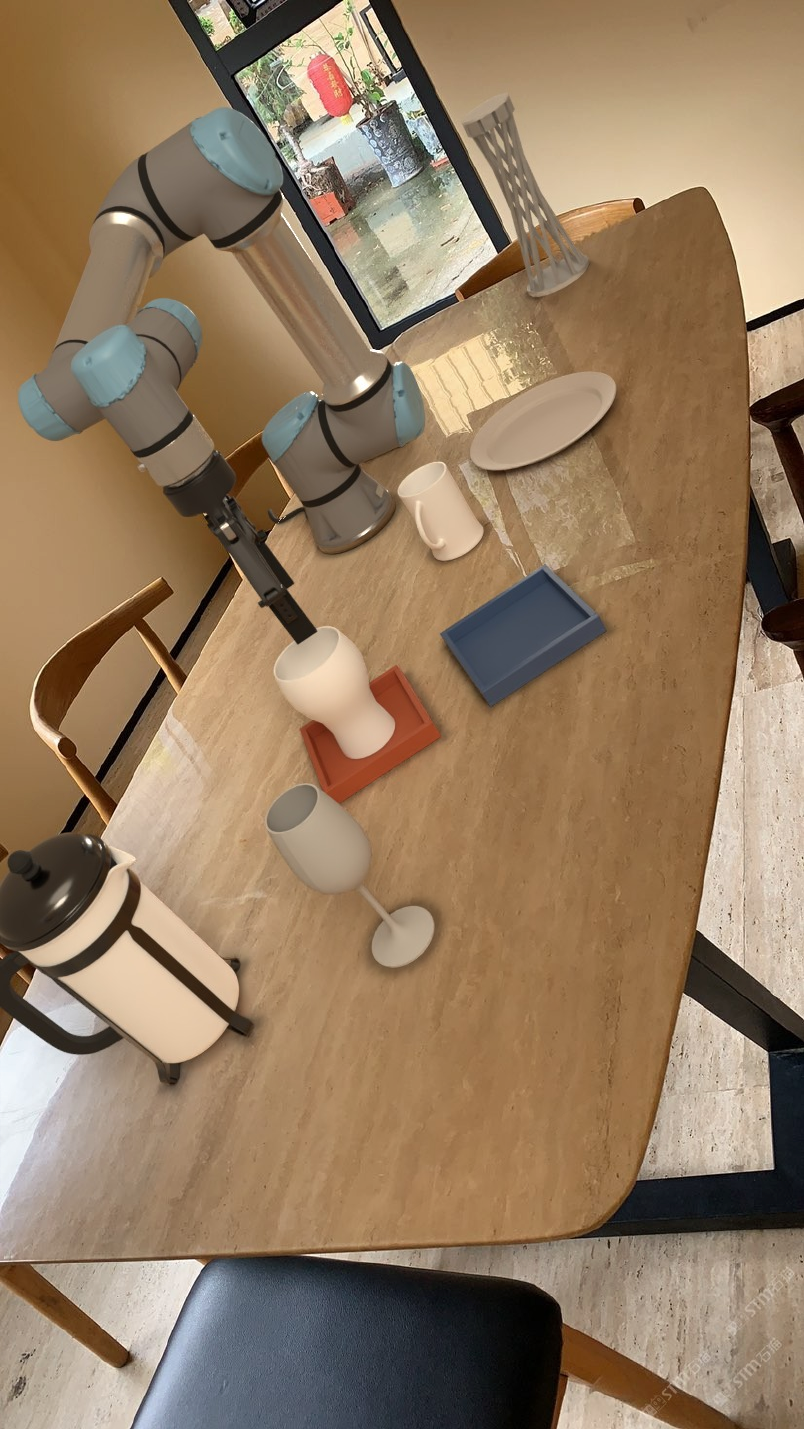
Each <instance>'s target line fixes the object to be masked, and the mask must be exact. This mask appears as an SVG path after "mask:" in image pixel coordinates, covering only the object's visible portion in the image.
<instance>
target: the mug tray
mask: <svg viewBox="0 0 804 1429" xmlns="http://www.w3.org/2000/svg"><path fill="white" fill-rule="evenodd" d="M606 632H607V628H606V627H605V624H604V622H603V620H602V619H601V617H600V615H599V614H598V613H597V612H596V611H595V610H594V609H592V607H591V606H590V605H589V604H587V602H585V601H584V600H583V598H581V596H579V595H578V594H577V592H575V591H574V590H573V589H572V588H571V587H570V586H569V585H568V584H567V583H566V582H565V581H564V580H563V579H562V578H560V576H558V574H556V572H555V571H553V569H551V567H549V566H548V565H547V564H546V563H544V564H542V565H541V566H539V567H537V568H536V569H535V570H533V571H531V572H530V573H529V574H527V575H525V576H524V577H523V578H521V579H520V580H518V581H517V582H515V583H514V584H512V585H510V586H509V587H508V588H506V589H504V590H503V591H502V592H500V593H499V594H497V595H495V596H494V597H493V598H491V599H489V600H488V601H486V602H485V603H483V604H482V605H481V606H479V607H477V608H476V609H474V610H472V611H471V612H470V613H468V614H467V615H466V616H464V617H463V618H461V619H459V620H458V621H456V622H455V623H453V624H452V625H450V626H449V627H447V628H446V629H444V630H443V631H441V632H440V633H439V635H440V637H441V638H442V640H443V642H444V643H445V644H446V646H447V647H448V649H449V650H450V652H451V653H452V655H453V656H454V658H456V660H457V662H458V663H459V664H460V666H461V668H462V669H463V670H464V671H465V673H466V675H467V676H468V677H469V679H470V680H471V682H472V683H473V684H474V686H475V687H476V688H477V690H478V691H479V693H480V695H481V696H482V697H483V698H484V700H485V701H486V703H487V704H488V705H489V707H490V708H491V707H493V706H494V705H497V703H500V702H501V701H502V700H504V699H505V698H507V697H509V696H510V695H512V694H513V693H514V692H516V691H517V690H519V689H520V688H522V687H524V686H525V685H526V684H528V683H530V682H531V681H533V680H534V679H536V678H537V677H538V676H540V675H542V674H543V673H545V672H546V671H548V670H549V669H551V668H553V667H554V666H555V665H557V664H558V663H560V662H562V661H563V660H565V659H567V657H569V656H571V655H573V654H574V653H576V652H577V651H579V650H580V649H582V648H583V647H584V646H586V645H588V644H589V643H590V642H592V641H594V640H595V639H596V638H598V637H600V636H601V635H603V634H604V633H606Z"/></svg>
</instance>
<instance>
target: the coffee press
mask: <svg viewBox="0 0 804 1429" xmlns="http://www.w3.org/2000/svg"><path fill="white" fill-rule="evenodd" d="M136 863H137V858H136V857H135V856H134V855H132V854H131V853H128V852H126V851H123V850H121V849H119V848H116V847H115V846H111V845H110V844H107V843H106V842H105V841H104V839H102V838H101V837H100V836H98V835H95V834H91V833H81V832H76V831H69V832H63V833H59V834H56V835H53V836H50V837H48V838H46V839H44V840H42V841H41V842H39V843H37V844H36V845H34V846H32V847H31V848H30V849H29V850H28V851H26V850H22V849H20V850H19V849H18V850H15V851H13V852H12V853H10V854H9V856H8V858H7V868H8V872H7V873H6V874H5V876H4V878H3V879H2V880H1V881H0V882H1V883H0V944H2V946H4V947H5V948H6V949H8V950H10V951H12V953H8V954H6V955H5V956H4V957H2V958H1V960H0V1008H1V1009H2V1010H3V1011H4V1012H6V1013H7V1014H8V1015H9V1016H10V1017H11V1018H12V1019H14V1020H15V1021H17V1022H18V1023H19V1024H20V1025H22V1026H23V1027H25V1029H27V1030H28V1031H30V1032H31V1033H32V1034H34V1035H36V1036H37V1037H38V1038H40V1039H41V1040H43V1041H44V1042H45V1043H47V1044H48V1045H50V1046H51V1047H53V1048H55V1049H56V1050H58V1051H60V1052H63V1053H66V1054H70V1055H76V1056H83V1055H84V1056H85V1055H91V1054H95V1053H98V1052H101V1051H104V1050H106V1049H107V1048H109V1047H112V1046H113V1045H115V1044H117V1043H118V1042H120V1041H121V1040H123V1039H125V1040H126V1041H127V1042H129V1043H130V1044H131V1045H132V1046H134V1048H136V1049H138V1051H140V1052H141V1053H143V1054H144V1055H145V1056H147V1057H148V1058H149V1059H150V1060H152V1061H153V1063H154V1065H155V1066H156V1070H157V1075H158V1079H159V1082H160V1083H161V1084H164V1085H168V1086H176V1084H177V1083H178V1082H179V1079H180V1063H182V1062H183V1063H184V1062H186V1061H189V1060H192V1059H194V1058H195V1057H198V1056H200V1055H202V1054H203V1053H204V1052H205V1051H207V1050H208V1049H209V1048H210V1047H211V1046H213V1045H214V1044H215V1043H216V1042H217V1041H218V1039H220V1037H221V1036H222V1035H223V1033H224V1032H225V1031H226V1030H230V1031H232V1032H233V1033H235V1034H238V1035H239V1036H242V1037H245V1038H248V1037H249V1035H250V1033H251V1032H252V1029H253V1027H254V1026H255V1023H254V1022H253V1021H251V1020H249V1019H248V1018H246V1017H244V1016H243V1015H241V1014H239V1013H238V1012H236V1010H237V1006H238V1003H239V996H240V985H239V980H238V977H237V974H236V973H237V972H238V971H239V970H240V967H241V963H240V959H239V958H237V957H231V956H221V955H220V954H218V952H216V950H214V948H212V947H211V946H210V945H208V944H207V943H206V941H204V939H202V938H201V937H200V936H199V935H198V934H197V933H196V932H195V931H193V929H192V928H190V927H189V925H188V924H187V923H185V922H184V921H183V920H182V919H181V918H180V917H179V916H178V915H177V914H175V913H174V911H172V910H171V909H170V908H169V907H168V906H167V905H166V904H165V903H164V902H162V900H161V899H160V898H159V897H157V896H156V895H155V894H154V893H153V892H152V891H151V889H149V888H148V887H146V885H145V884H144V883H143V882H141V881H140V878H139V877H138V875H137V874H136V872H134V870H132V869H131V868H130V867H132V866H133V865H135V864H136ZM226 961H230V965H229V964H228V963H227V962H226ZM27 964H30V965H31V966H32V967H33V968H35V969H36V970H37V971H38V972H40V973H41V974H43V975H44V976H45V977H48V978H49V979H51V980H52V981H53V982H54V983H55V984H56V985H57V986H59V987H60V988H61V989H62V990H64V992H66V993H67V994H68V995H70V996H71V997H72V998H73V999H75V1000H76V1001H78V1002H79V1003H80V1004H81V1005H82V1006H84V1007H85V1008H86V1009H88V1010H89V1011H90V1012H91V1013H93V1014H94V1015H95V1016H97V1017H98V1018H99V1019H100V1020H102V1021H103V1022H104V1023H105V1024H107V1026H108V1027H106V1028H104V1029H102V1030H100V1031H99V1032H96V1033H94V1034H90V1035H77V1034H74V1033H71V1032H69V1031H67V1030H66V1029H64V1028H63V1027H62V1026H61V1025H59V1024H58V1023H57V1022H56V1021H54V1020H52V1019H51V1018H49V1016H47V1015H46V1014H44V1013H43V1012H42V1011H41V1010H39V1009H38V1008H37V1007H35V1006H34V1005H33V1004H32V1003H30V1002H29V1001H28V1000H26V999H25V998H23V997H22V996H21V995H20V994H19V993H18V992H17V991H16V990H15V989H14V988H13V986H12V983H11V980H12V979H13V977H14V976H15V975H16V974H17V973H18V972H19V971H21V970H22V968H23V967H24V966H26V965H27ZM164 1063H166V1064H169V1075H168V1072H167V1068H166V1065H165V1064H164ZM168 1076H169V1077H168Z"/></svg>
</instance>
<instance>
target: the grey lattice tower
mask: <svg viewBox="0 0 804 1429" xmlns="http://www.w3.org/2000/svg"><path fill="white" fill-rule="evenodd" d="M514 106H515V105H514V104H513V102H512V99H511V97H510V95H509V92H502V93H499V94H496V95H494V96H492V97H490V98H488V99H487V100H484V101H483V102H481V103H480V104H479V105H477V106H476V107H475V108H473V109H471V110H470V111H469V112H468V113H467V114H465V115H464V116H463V117H462V119H461V124H462V127H463V129H464V131H465V134H466V135H467V138H469V139H472V140H473V141H474V144H475V145H476V147H477V148H478V149H479V151H480V153H481V154H482V155H483V158H484V159H485V160H486V162H487V164H488V165H489V166H490V169H492V173H493V174H494V177H495V179H496V181H497V183H498V186H499V188H500V190H501V193H502V195H503V197H504V199H505V202H506V204H507V206H508V208H509V211H510V214H511V218H512V222H513V225H514V226H513V227H514V231H515V234H516V237H517V241H518V245H519V249H520V253H521V257H522V260H523V264H524V268H525V273H526V275H527V278H528V279H527V281H528V284H527V288H526V291H527V293H528V296H530V297H532V298H542V297H545V296H548V295H551V294H554V293H556V292H558V291H560V290H563V289H565V288H567V287H568V286H569V285H571V284H572V283H574V282H576V281H577V280H578V279H579V278H581V277H582V276H583V275H584V274H585V273H586V272H587V269H588V268H589V265H590V263H591V261H590V258H589V256H588V255H586V254H583V253H582V252H581V251H580V249H579V248H578V247H577V246H576V245H577V244H575V243H574V242H573V240H572V238H571V237H570V236H569V234H568V232H567V231H566V229H565V228H564V226H563V224H562V223H561V222H560V220H559V218H558V217H557V215H556V214H555V212H554V211H553V209H552V207H551V206H550V204H549V202H548V201H547V199H546V197H545V196H544V195H543V193H542V192H541V189H540V187H539V184H538V182H537V179H536V178H535V176H534V173H533V171H532V169H531V167H530V164H529V162H528V160H527V157H526V156H525V151H524V150H523V149H524V148H523V145H522V142H521V141H522V140H521V138H520V135H519V134H520V133H519V131H518V128H517V124H516V121H515V117H514V112H515V111H516V110H515V107H514ZM495 131H496V132H495ZM496 133H497V134H498V136H499V137H500V139H501V141H502V142H503V148H504V150H503V148H502V147H501V146H500V145H499V143H498V140H497V135H496ZM509 138H510V139H509ZM510 140H511V142H510ZM488 143H490V145H491V146H492V148H493V150H494V151H493V150H492V148H490V145H489V144H488ZM513 160H514V161H515V164H514V162H513ZM504 163H505V164H506V165H507V168H506V167H505V166H504ZM515 165H516V166H515ZM507 169H508V170H507ZM516 179H517V180H518V182H519V184H518V182H517V180H516ZM510 186H511V188H510ZM528 194H529V195H530V198H531V199H530V198H529V197H528V196H529V195H528ZM520 199H521V200H522V202H523V207H522V205H521V203H520V202H521V201H520ZM541 210H542V212H541ZM542 213H543V214H544V216H543V215H542ZM532 214H533V215H534V216H535V218H536V219H537V221H538V225H539V229H540V232H541V235H542V236H541V235H540V233H539V231H538V230H537V228H536V226H535V225H534V223H533V217H532ZM524 221H525V223H526V225H527V229H528V233H527V231H526V230H525V225H524ZM547 233H548V234H549V236H550V237H551V238H552V239H553V241H554V242H555V244H556V245H557V246H558V248H559V250H560V253H561V255H562V257H563V259H560V260H558V261H557V260H556V258H555V256H554V254H553V252H552V248H551V244H550V241H549V238H548V234H547ZM528 234H529V236H528ZM562 238H563V239H564V241H565V243H566V244H567V246H568V247H569V248H568V247H567V246H566V245H565V243H564V241H563V239H562ZM537 241H538V243H539V244H540V246H541V247H542V250H543V251H544V252H545V253H546V255H547V257H548V259H549V263H550V265H548V266H547V267H546V268H544V269H542V265H541V260H540V254H539V249H538V244H537ZM570 250H571V251H570ZM531 261H532V263H533V266H534V268H535V272H536V275H535V276H534V275H533V271H532V270H533V269H532V267H531V266H532V265H531ZM533 276H534V277H533Z"/></svg>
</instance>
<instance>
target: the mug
mask: <svg viewBox="0 0 804 1429" xmlns="http://www.w3.org/2000/svg"><path fill="white" fill-rule="evenodd" d="M396 491H397V495H398V497H399V499H400V500H401V502H402V503H403V505H404V507H405V508H406V510H407V511H408V513H409V515H410V517H411V518H412V520H413V522H414V523H415V525H416V528H417V531H418V533H419V535H420V537H421V539H422V541H423V543H424V544H425V545H426V546H427V547H429V548H430V550H431V553H432V555H433V557H434V559H436V560H438V561H442V562H447V561H452V560H455V559H458V558H460V557H462V556H464V555H465V554H467V553H469V552H471V550H473V549H474V548H475V547H476V546H477V545H478V544H479V543H480V542H481V540H482V538H483V536H484V533H485V529H484V526H483V525H482V524H481V523H480V522H479V520H478V519H477V517H476V516H475V514H474V512H473V510H472V508H471V507H470V505H469V503H468V502H467V500H466V498H465V497H464V494H463V492H462V491H461V489H460V488H459V486H458V484H457V482H456V480H455V479H454V476H453V475H452V473H451V471H450V470H449V468H448V466H447V464H446V463H445V462H442V461H433V462H429V463H426V464H424V465H422V466H419V467H418V468H416V469H414V470H413V471H411V472H410V473H409V474H408V475H407V476H406V477H405V478H404V479H403V480H402V481H401V482H400V483H399V485H398V487H397V490H396Z"/></svg>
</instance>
